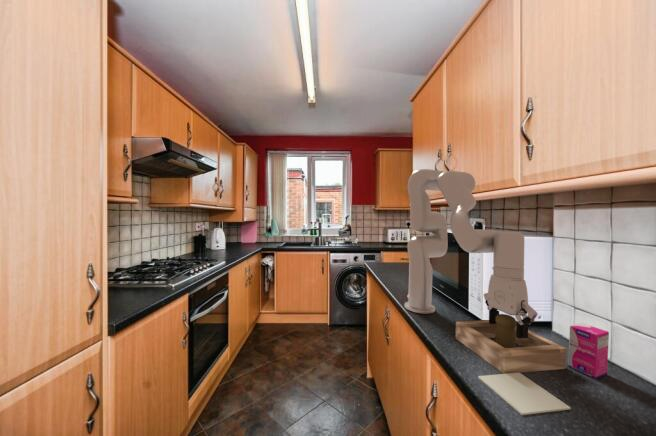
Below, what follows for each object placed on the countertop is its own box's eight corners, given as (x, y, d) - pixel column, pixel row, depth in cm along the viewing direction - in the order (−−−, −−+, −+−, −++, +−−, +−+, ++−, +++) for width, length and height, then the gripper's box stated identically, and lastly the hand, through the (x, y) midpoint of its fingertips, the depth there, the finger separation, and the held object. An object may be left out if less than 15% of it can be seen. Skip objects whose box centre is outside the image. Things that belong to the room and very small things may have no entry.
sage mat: (477, 377, 64) (477, 376, 64) (519, 374, 66) (519, 372, 66) (521, 415, 52) (521, 413, 52) (570, 409, 54) (570, 407, 54)
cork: (517, 360, 72) (518, 321, 72) (491, 352, 76) (493, 315, 76) (517, 351, 77) (518, 315, 77) (493, 344, 81) (494, 310, 80)
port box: (455, 338, 84) (455, 321, 84) (505, 335, 87) (505, 319, 87) (504, 374, 65) (504, 352, 65) (565, 368, 69) (566, 348, 68)
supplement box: (567, 366, 70) (568, 325, 69) (579, 362, 72) (581, 322, 71) (595, 379, 64) (597, 334, 64) (608, 374, 66) (609, 331, 66)
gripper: (475, 267, 84) (474, 319, 84) (524, 280, 67) (523, 345, 67) (495, 267, 85) (494, 318, 85) (548, 279, 68) (547, 343, 68)
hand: (507, 330), depth 76 cm, fingers open, 9 cm apart
